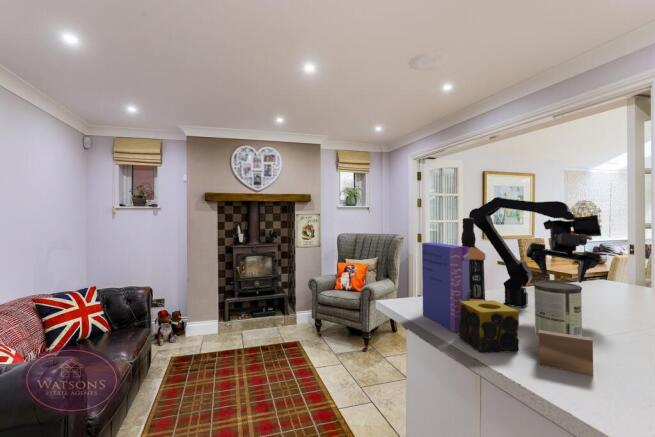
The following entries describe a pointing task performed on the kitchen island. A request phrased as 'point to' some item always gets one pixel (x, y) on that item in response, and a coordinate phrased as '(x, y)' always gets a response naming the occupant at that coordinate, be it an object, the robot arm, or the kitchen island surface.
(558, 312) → the coffee can
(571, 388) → the kitchen island surface
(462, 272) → the cereal box
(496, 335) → the yellow cube with hole
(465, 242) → the whiskey bottle
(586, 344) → the wooden block
